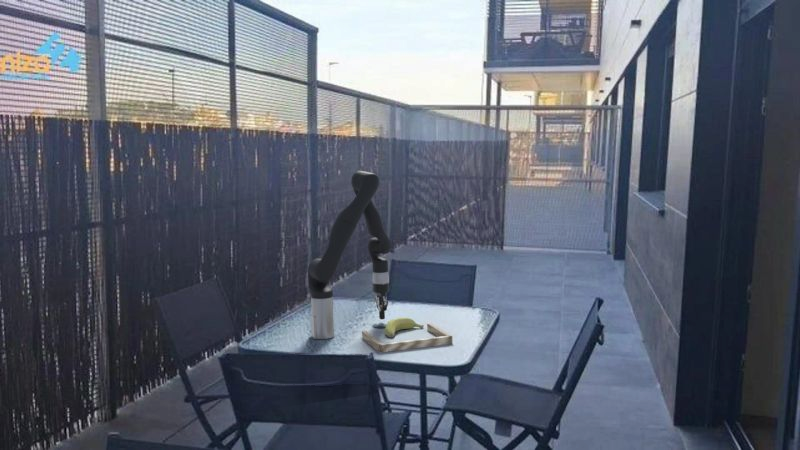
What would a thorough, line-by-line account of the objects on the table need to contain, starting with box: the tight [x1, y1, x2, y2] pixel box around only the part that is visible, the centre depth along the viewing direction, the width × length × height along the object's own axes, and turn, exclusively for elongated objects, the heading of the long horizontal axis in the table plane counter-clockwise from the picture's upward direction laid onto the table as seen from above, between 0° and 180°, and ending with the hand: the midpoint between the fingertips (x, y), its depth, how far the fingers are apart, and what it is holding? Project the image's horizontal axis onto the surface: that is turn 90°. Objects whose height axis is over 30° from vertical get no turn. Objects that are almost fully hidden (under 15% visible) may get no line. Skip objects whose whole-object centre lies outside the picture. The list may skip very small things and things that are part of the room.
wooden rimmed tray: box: [361, 322, 453, 354], centre depth 286 cm, size 31×24×3 cm
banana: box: [384, 317, 425, 339], centre depth 300 cm, size 14×6×20 cm
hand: (382, 318), depth 316 cm, fingers closed
